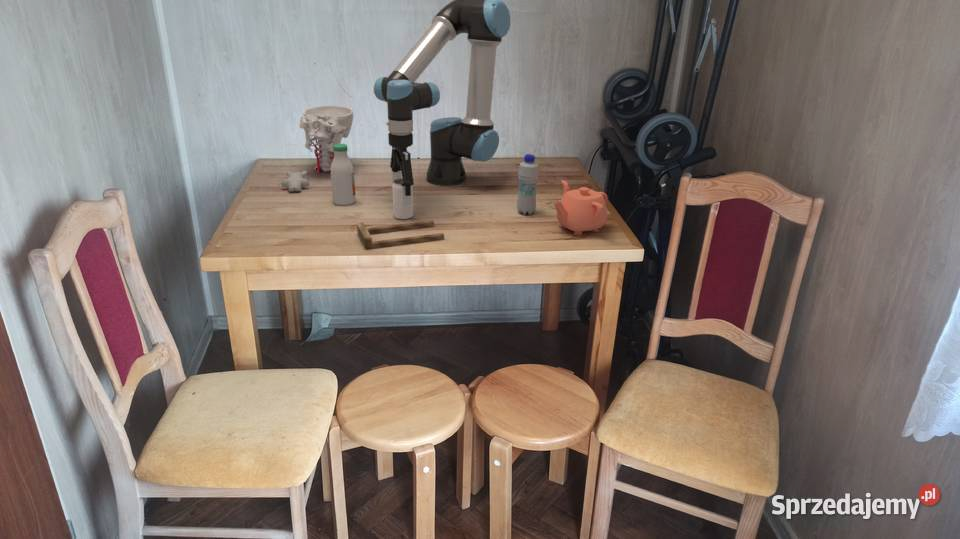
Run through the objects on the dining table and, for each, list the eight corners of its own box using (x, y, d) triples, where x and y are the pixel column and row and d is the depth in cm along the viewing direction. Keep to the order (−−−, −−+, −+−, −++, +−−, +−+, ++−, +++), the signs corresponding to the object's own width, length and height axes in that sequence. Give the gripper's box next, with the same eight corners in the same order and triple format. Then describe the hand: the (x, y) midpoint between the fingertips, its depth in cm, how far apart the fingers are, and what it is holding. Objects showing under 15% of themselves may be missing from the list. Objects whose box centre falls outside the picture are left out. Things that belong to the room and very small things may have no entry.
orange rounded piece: (550, 234, 199) (554, 193, 193) (558, 215, 214) (561, 176, 208) (603, 241, 196) (608, 199, 190) (607, 221, 210) (611, 181, 204)
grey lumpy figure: (279, 183, 225) (283, 166, 237) (281, 196, 228) (285, 178, 240) (307, 182, 226) (309, 165, 239) (309, 195, 229) (311, 177, 242)
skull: (313, 161, 261) (308, 105, 251) (360, 162, 262) (356, 105, 252) (300, 181, 239) (293, 120, 229) (351, 182, 240) (346, 121, 230)
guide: (432, 224, 204) (432, 214, 203) (444, 239, 194) (444, 228, 193) (357, 233, 196) (356, 223, 195) (365, 249, 186) (364, 238, 185)
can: (393, 212, 213) (392, 178, 208) (413, 212, 213) (412, 178, 208) (393, 220, 207) (391, 184, 202) (413, 219, 208) (412, 184, 202)
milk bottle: (350, 206, 217) (346, 149, 208) (329, 204, 218) (324, 147, 209) (359, 199, 224) (355, 142, 215) (338, 197, 225) (333, 141, 216)
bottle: (538, 210, 218) (542, 152, 209) (533, 217, 212) (536, 158, 203) (519, 207, 219) (522, 150, 211) (513, 214, 214) (516, 156, 205)
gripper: (379, 124, 207) (382, 186, 216) (398, 143, 186) (400, 211, 195) (402, 122, 210) (403, 185, 219) (423, 141, 189) (423, 209, 198)
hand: (402, 197), depth 207 cm, fingers open, 13 cm apart
